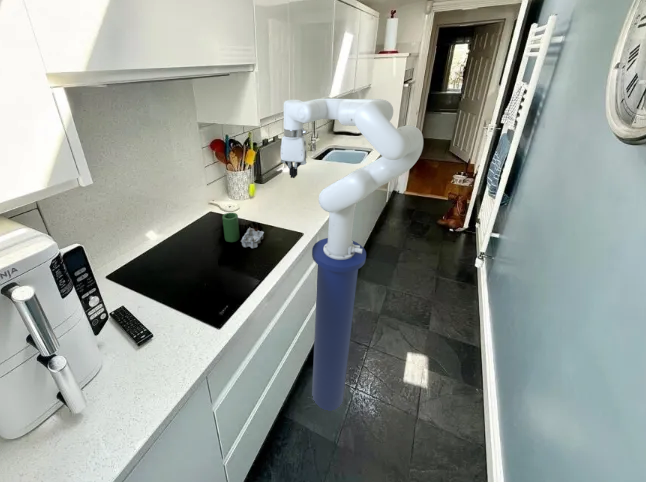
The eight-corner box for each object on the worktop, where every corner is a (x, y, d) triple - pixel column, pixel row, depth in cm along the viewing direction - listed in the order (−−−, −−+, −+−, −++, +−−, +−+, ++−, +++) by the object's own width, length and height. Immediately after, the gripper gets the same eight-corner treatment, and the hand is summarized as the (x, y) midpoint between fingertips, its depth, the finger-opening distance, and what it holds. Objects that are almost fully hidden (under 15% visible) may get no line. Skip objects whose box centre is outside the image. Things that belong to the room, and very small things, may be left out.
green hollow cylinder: (242, 235, 136) (240, 213, 131) (235, 243, 130) (233, 220, 126) (229, 233, 138) (226, 211, 133) (222, 240, 132) (219, 218, 128)
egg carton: (250, 234, 137) (249, 226, 135) (265, 237, 134) (265, 228, 132) (239, 246, 128) (238, 238, 126) (255, 250, 125) (255, 241, 124)
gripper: (314, 131, 121) (313, 175, 130) (278, 130, 126) (279, 172, 134) (309, 136, 115) (308, 181, 123) (272, 134, 120) (273, 178, 128)
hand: (293, 176), depth 129 cm, fingers closed
